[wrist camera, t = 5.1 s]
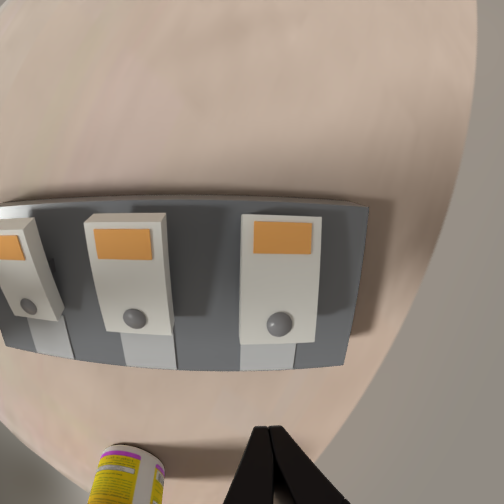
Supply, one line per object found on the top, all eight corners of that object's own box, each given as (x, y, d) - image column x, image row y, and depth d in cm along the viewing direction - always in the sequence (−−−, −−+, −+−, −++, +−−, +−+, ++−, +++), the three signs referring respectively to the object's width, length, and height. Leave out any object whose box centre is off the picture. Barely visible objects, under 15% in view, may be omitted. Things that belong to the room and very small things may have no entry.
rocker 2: (307, 333, 15) (315, 342, 14) (238, 335, 15) (240, 345, 14) (314, 217, 15) (322, 217, 13) (241, 214, 14) (242, 214, 13)
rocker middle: (174, 321, 16) (171, 336, 14) (112, 317, 15) (106, 332, 14) (166, 212, 13) (160, 222, 12) (93, 213, 13) (82, 223, 12)
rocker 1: (64, 307, 15) (57, 322, 14) (22, 302, 15) (13, 316, 14) (34, 217, 12) (21, 230, 11) (-10, 219, 12) (-23, 231, 11)
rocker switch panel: (24, 327, 19) (2, 349, 15) (3, 202, 16) (-27, 210, 13) (329, 341, 21) (345, 369, 17) (347, 200, 18) (373, 208, 15)
